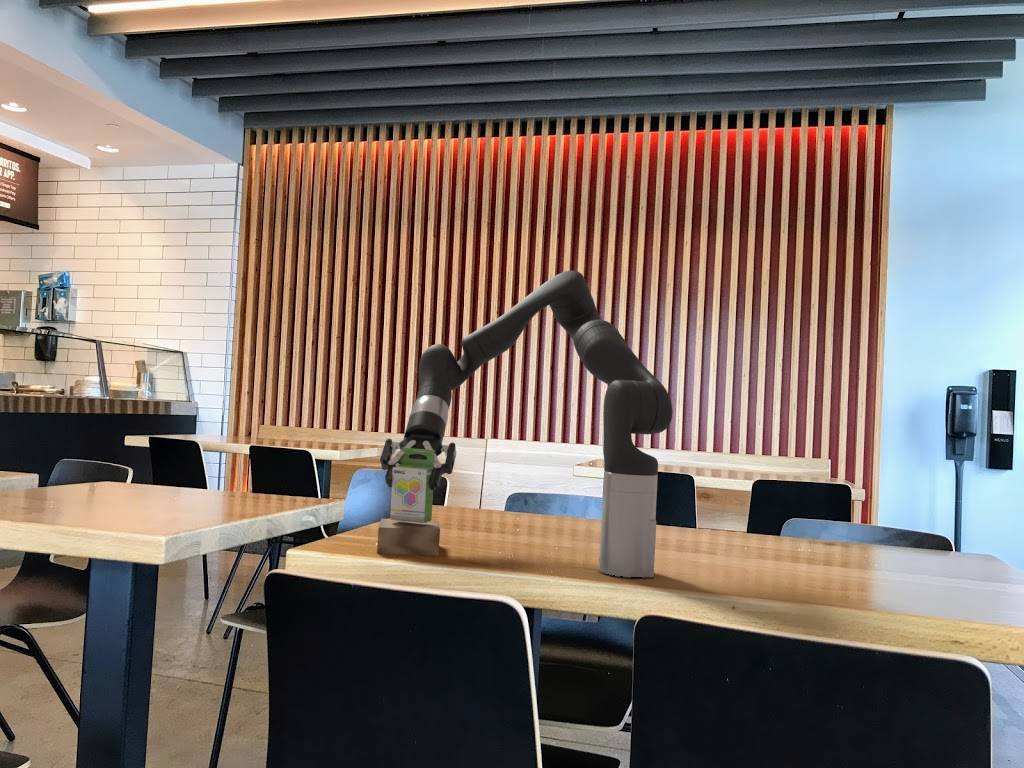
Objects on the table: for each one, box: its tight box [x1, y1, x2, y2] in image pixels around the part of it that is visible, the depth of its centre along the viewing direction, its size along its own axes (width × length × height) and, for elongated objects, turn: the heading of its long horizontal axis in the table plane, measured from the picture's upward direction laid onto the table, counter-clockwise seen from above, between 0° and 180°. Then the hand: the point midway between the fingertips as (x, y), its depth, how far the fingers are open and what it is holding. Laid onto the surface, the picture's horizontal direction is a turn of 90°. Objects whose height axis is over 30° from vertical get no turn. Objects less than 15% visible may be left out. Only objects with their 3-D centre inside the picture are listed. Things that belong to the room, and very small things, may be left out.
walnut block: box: [376, 518, 441, 557], centre depth 150 cm, size 11×11×5 cm
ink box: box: [389, 448, 435, 523], centre depth 151 cm, size 7×4×13 cm, turn 73°
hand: (410, 486), depth 149 cm, fingers closed on ink box, 7 cm apart
